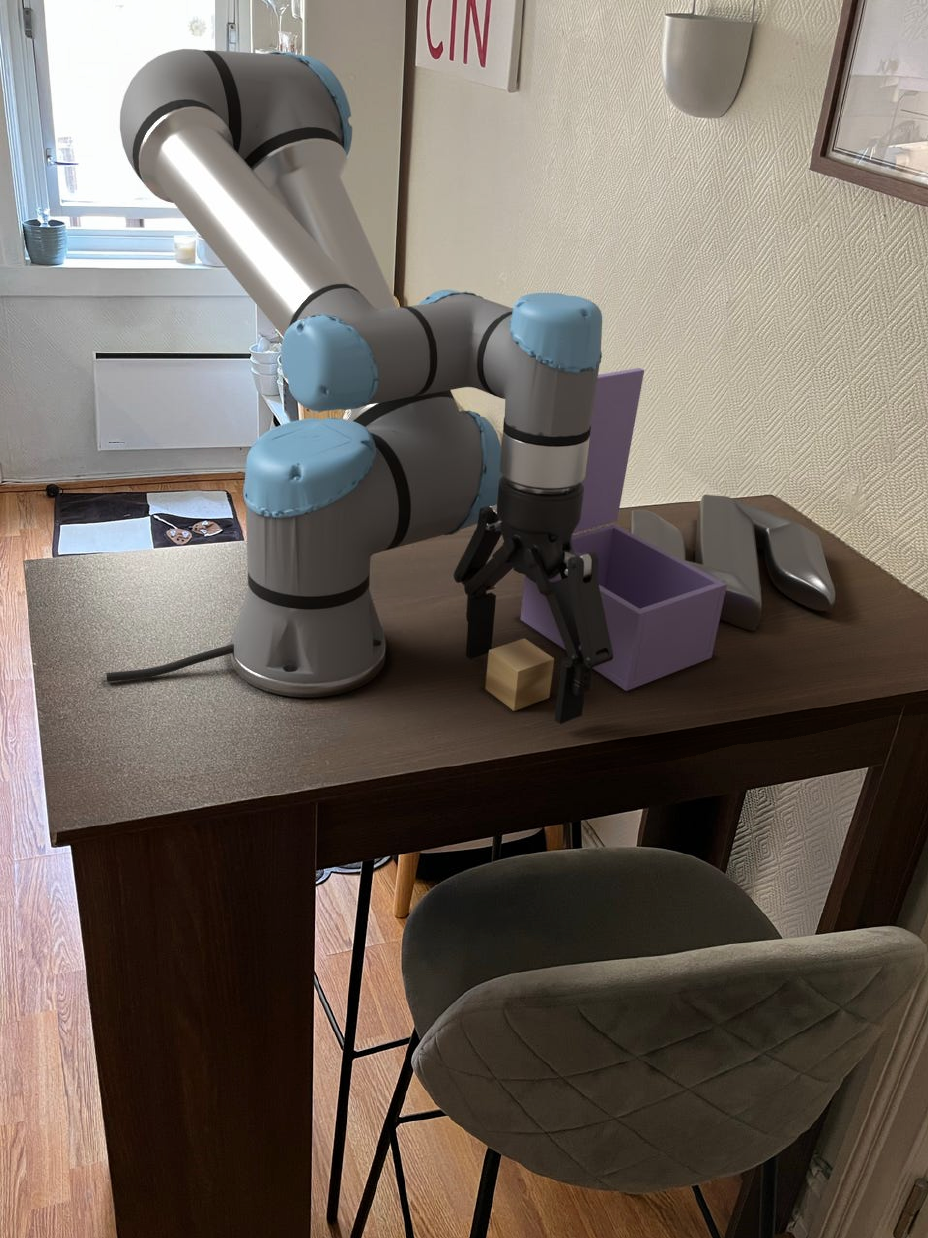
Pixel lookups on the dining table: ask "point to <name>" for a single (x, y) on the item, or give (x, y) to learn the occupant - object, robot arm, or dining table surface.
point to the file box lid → (609, 446)
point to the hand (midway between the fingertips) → (521, 685)
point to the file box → (641, 607)
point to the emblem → (746, 555)
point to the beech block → (519, 674)
